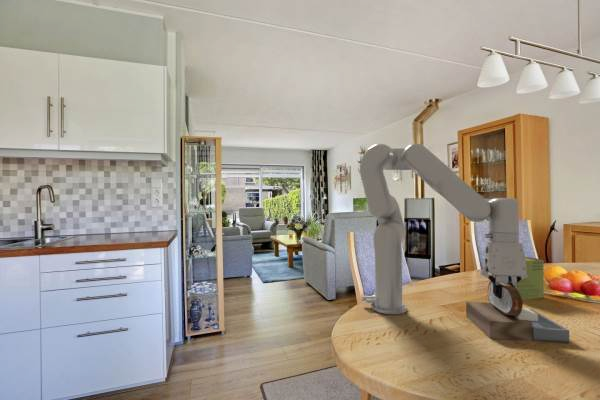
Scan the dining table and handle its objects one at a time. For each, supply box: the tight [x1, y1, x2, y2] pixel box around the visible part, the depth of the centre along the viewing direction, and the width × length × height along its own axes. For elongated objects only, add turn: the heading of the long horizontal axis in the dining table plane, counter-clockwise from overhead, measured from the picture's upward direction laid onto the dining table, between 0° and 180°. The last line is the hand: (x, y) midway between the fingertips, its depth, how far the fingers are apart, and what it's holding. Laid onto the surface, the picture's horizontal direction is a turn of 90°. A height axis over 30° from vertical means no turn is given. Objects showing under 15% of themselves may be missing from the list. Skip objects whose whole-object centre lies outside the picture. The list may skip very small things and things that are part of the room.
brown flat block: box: [465, 301, 533, 342], centre depth 91 cm, size 11×16×5 cm
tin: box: [487, 280, 523, 317], centre depth 90 cm, size 15×3×8 cm, turn 172°
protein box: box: [490, 255, 545, 301], centre depth 121 cm, size 10×15×16 cm
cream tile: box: [514, 307, 538, 321], centre depth 86 cm, size 5×5×2 cm
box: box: [528, 308, 570, 344], centre depth 89 cm, size 9×16×4 cm, turn 172°
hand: (503, 296), depth 90 cm, fingers closed on tin, 2 cm apart
